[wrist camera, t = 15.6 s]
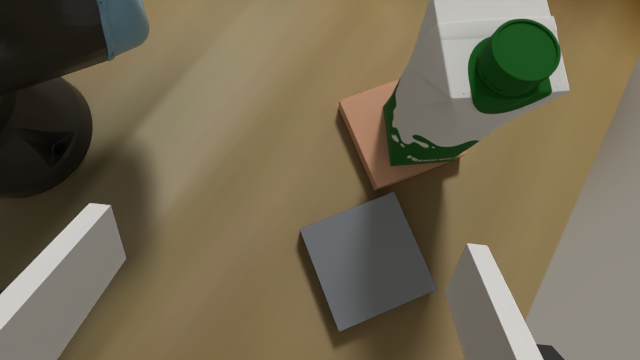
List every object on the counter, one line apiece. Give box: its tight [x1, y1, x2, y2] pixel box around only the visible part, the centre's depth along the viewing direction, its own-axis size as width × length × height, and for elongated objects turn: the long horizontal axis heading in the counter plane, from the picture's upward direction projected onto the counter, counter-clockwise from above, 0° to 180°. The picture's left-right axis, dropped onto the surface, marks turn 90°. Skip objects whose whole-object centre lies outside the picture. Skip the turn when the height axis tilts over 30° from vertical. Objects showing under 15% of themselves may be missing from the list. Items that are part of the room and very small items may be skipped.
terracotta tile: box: [338, 79, 467, 191], centre depth 41 cm, size 11×11×2 cm
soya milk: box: [383, 0, 570, 166], centre depth 30 cm, size 9×9×20 cm
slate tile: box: [300, 192, 437, 332], centre depth 38 cm, size 11×11×2 cm
